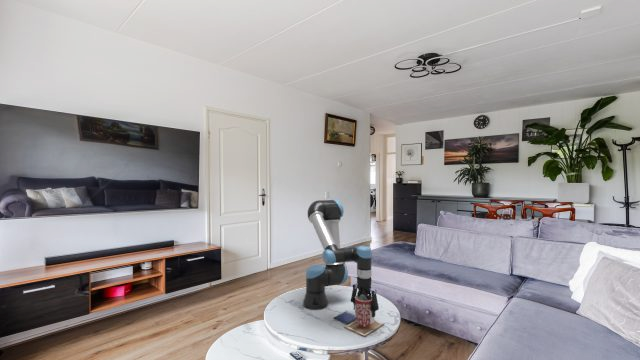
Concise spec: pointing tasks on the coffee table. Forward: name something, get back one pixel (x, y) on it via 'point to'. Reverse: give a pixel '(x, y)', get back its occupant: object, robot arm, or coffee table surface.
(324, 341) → the coffee table surface
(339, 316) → the ink pad
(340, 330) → the coffee table surface
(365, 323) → the mug
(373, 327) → the board
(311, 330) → the coffee table surface
